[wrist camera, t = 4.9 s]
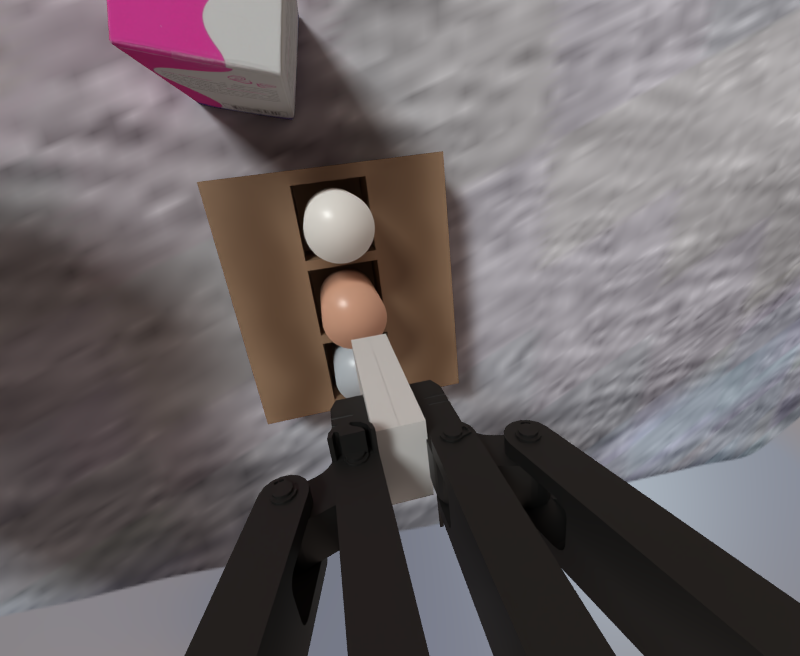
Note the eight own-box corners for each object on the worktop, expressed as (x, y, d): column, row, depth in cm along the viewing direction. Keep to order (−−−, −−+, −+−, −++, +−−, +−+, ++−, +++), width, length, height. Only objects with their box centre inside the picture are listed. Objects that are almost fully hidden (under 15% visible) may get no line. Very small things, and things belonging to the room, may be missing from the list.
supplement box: (299, 9, 23) (293, -120, 13) (294, 121, 25) (285, 88, 15) (190, -17, 22) (84, -185, 12) (194, 104, 24) (106, 54, 14)
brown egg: (325, 324, 27) (328, 354, 23) (315, 273, 26) (316, 294, 21) (377, 315, 28) (390, 342, 23) (370, 264, 26) (382, 283, 22)
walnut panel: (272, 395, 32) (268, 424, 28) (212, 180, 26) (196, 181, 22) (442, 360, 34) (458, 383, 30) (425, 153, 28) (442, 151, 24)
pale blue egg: (336, 373, 31) (341, 407, 27) (327, 331, 30) (331, 359, 25) (381, 364, 32) (393, 395, 27) (375, 322, 30) (386, 348, 26)
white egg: (310, 251, 25) (311, 268, 21) (298, 191, 24) (296, 196, 20) (367, 242, 26) (379, 257, 21) (358, 183, 24) (369, 186, 20)
